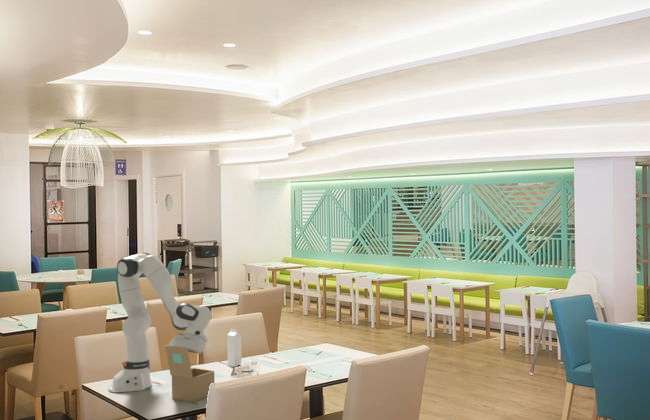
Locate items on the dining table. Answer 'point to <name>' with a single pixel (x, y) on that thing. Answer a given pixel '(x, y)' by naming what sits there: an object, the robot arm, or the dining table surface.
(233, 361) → the milk
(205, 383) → the carton
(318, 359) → the dining table surface
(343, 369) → the dining table surface
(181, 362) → the lid flap
